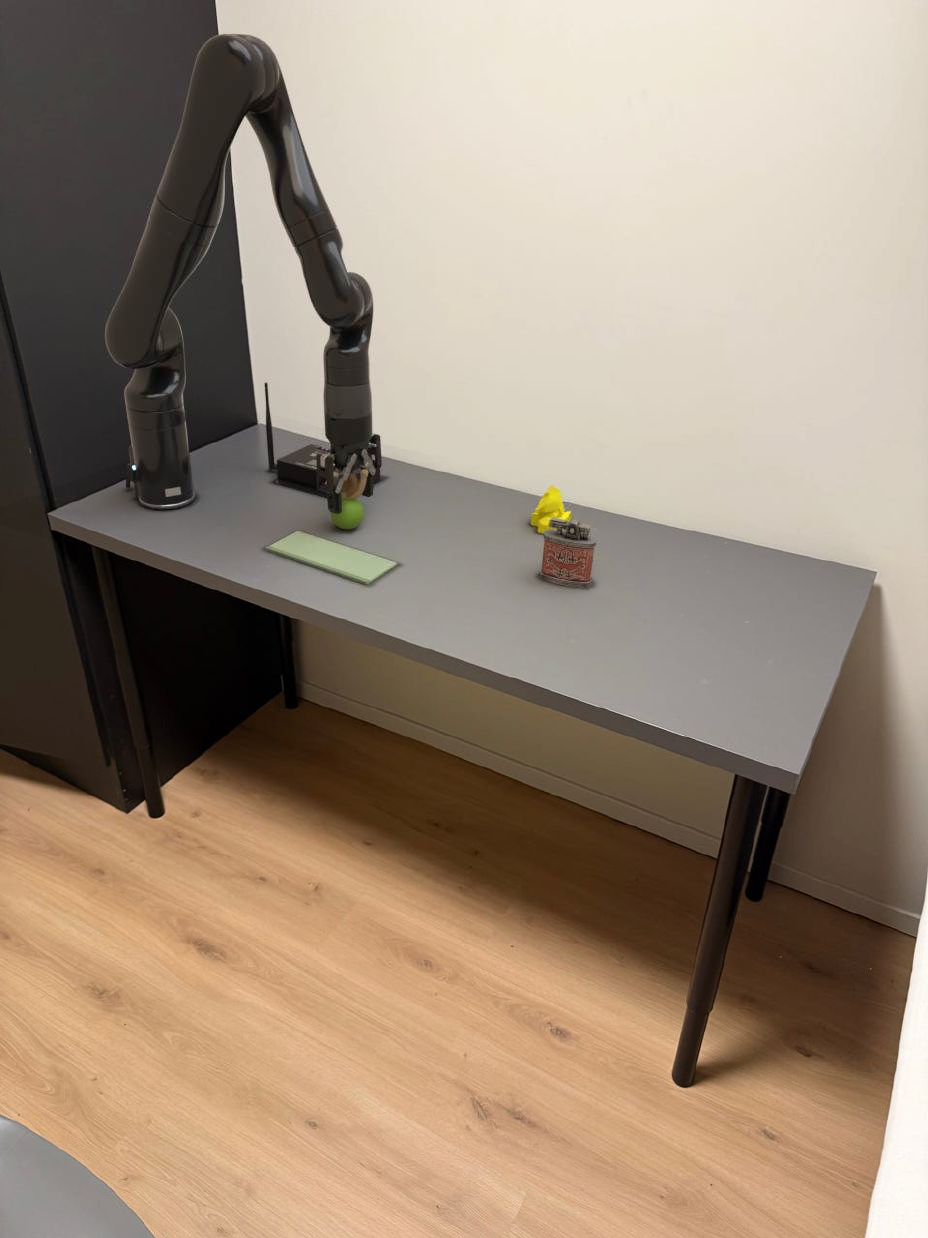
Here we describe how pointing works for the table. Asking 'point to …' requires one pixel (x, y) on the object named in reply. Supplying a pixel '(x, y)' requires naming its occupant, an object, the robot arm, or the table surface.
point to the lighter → (568, 553)
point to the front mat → (331, 557)
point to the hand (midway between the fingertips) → (351, 503)
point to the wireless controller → (299, 463)
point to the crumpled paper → (549, 510)
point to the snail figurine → (351, 500)
